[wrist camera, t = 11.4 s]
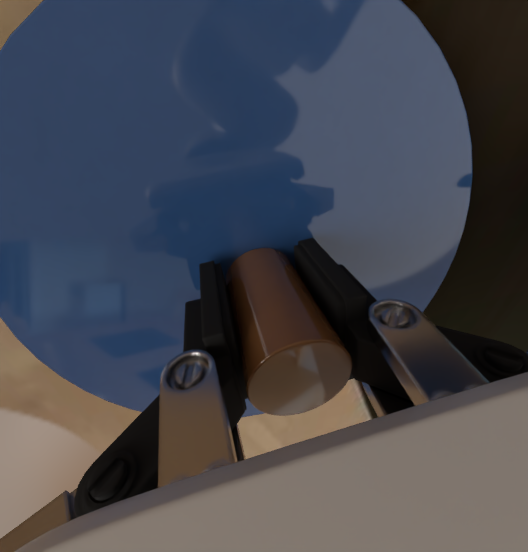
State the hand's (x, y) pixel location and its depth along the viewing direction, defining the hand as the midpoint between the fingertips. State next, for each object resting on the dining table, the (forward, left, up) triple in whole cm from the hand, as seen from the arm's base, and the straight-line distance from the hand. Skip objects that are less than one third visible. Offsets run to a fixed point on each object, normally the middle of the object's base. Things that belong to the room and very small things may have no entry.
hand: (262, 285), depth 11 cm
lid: (0, 0, -1) cm, 1 cm away
